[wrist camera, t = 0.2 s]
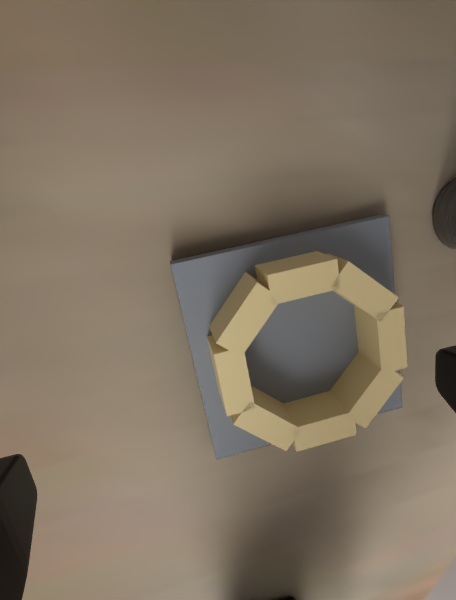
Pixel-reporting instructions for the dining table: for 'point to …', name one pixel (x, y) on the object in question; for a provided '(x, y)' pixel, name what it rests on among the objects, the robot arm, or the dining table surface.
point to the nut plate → (295, 335)
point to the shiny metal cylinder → (446, 215)
